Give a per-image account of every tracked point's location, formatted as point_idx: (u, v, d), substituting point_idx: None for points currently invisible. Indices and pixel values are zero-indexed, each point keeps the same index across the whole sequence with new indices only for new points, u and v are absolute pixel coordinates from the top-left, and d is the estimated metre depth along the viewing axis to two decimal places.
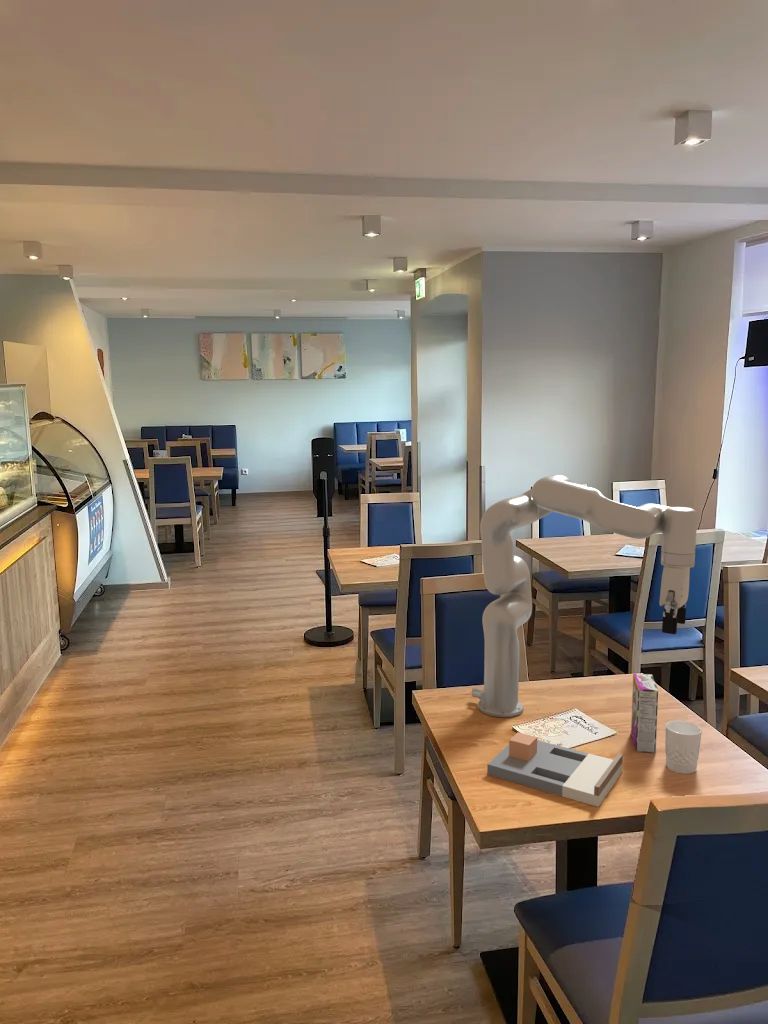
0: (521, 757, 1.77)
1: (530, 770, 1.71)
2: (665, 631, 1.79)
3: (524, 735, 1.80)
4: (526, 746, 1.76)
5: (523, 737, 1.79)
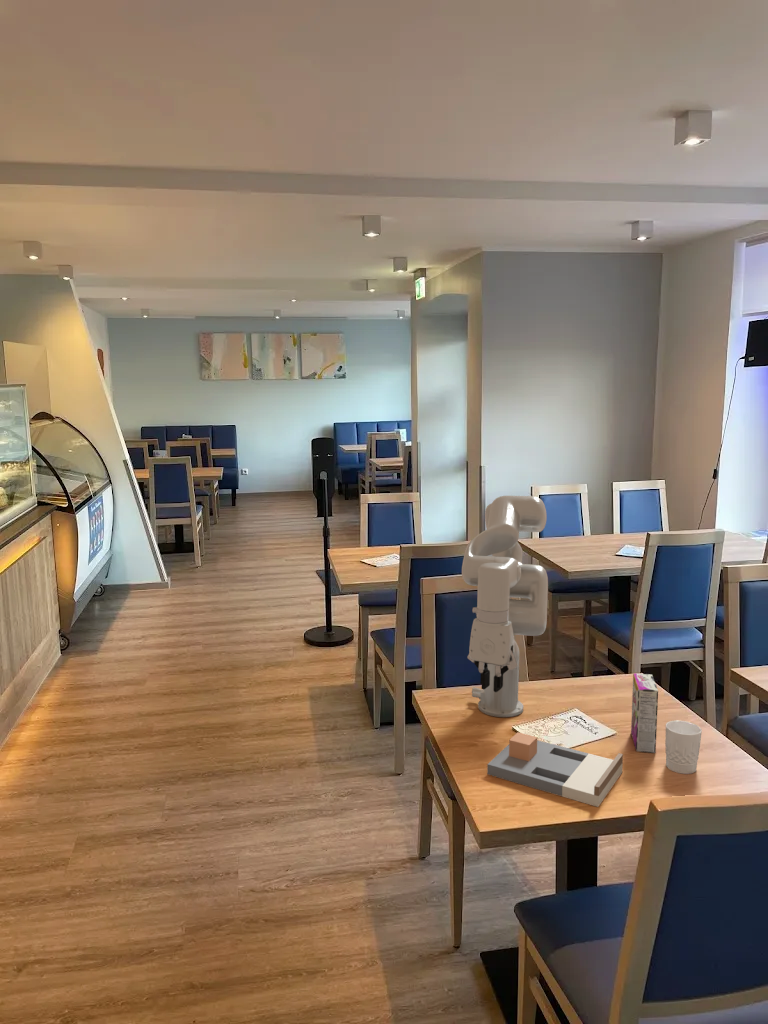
0: (521, 757, 1.77)
1: (530, 770, 1.71)
2: (497, 690, 1.80)
3: (524, 735, 1.80)
4: (526, 746, 1.76)
5: (523, 737, 1.79)
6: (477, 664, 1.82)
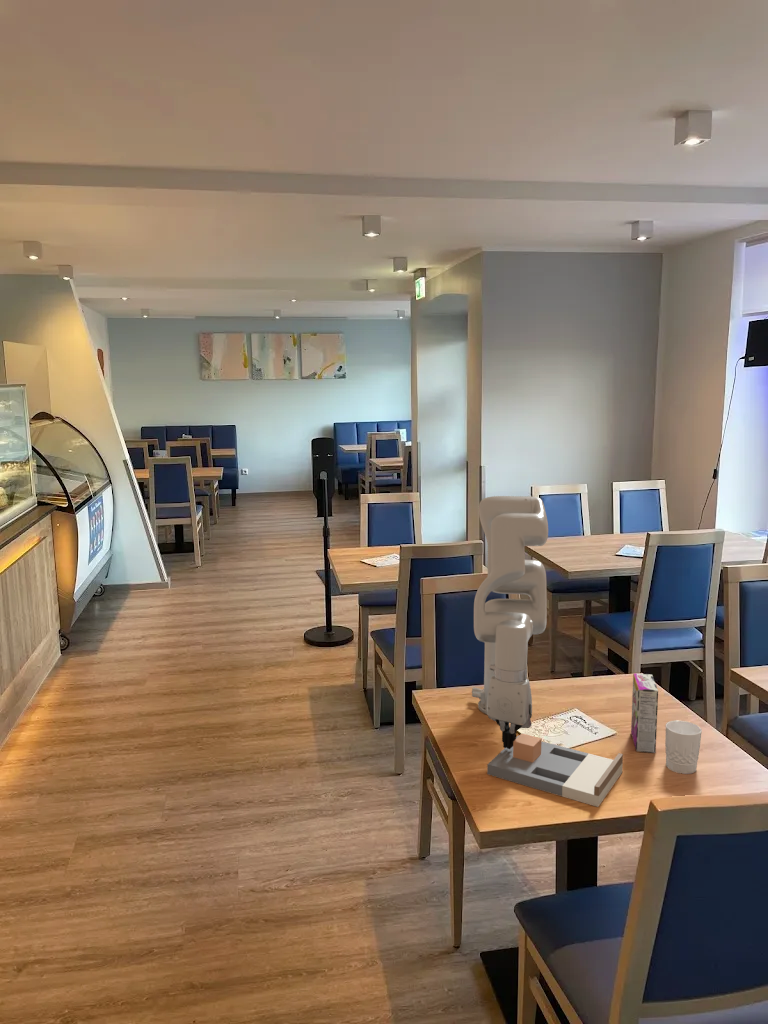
0: (525, 758, 1.76)
1: (530, 770, 1.71)
2: (510, 746, 1.80)
3: (528, 736, 1.79)
4: (530, 747, 1.75)
5: (527, 738, 1.78)
6: (499, 722, 1.81)
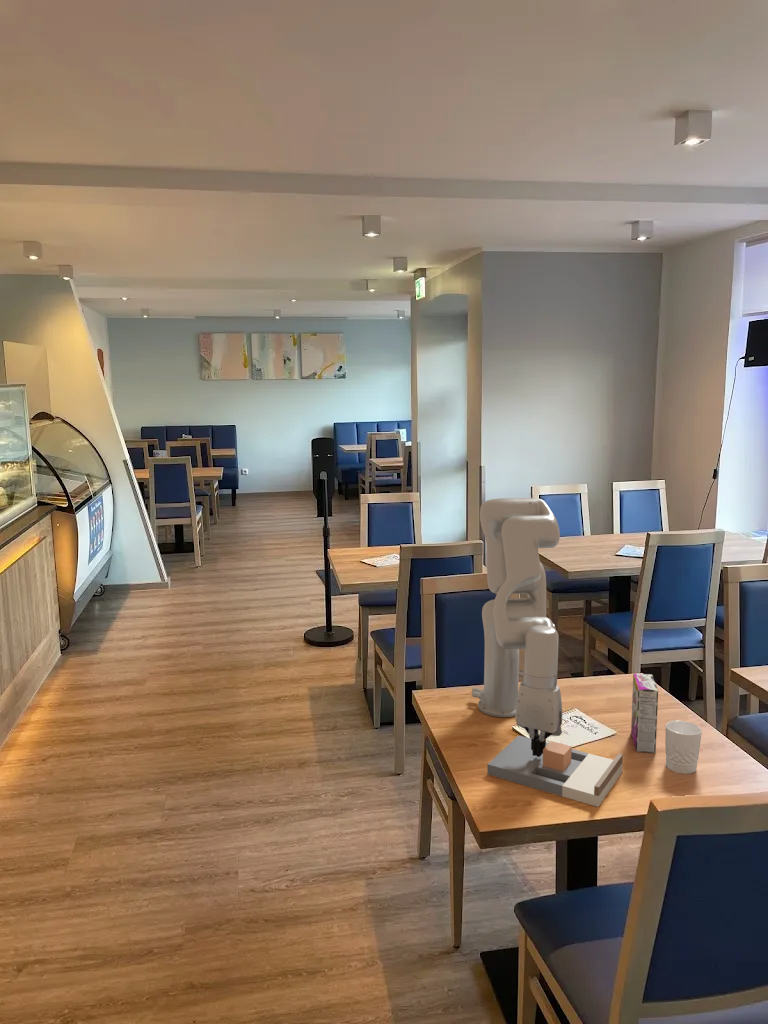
0: (555, 767, 1.72)
1: (530, 770, 1.71)
2: (540, 754, 1.76)
3: (558, 744, 1.75)
4: (560, 756, 1.71)
5: (557, 746, 1.74)
6: (528, 729, 1.77)
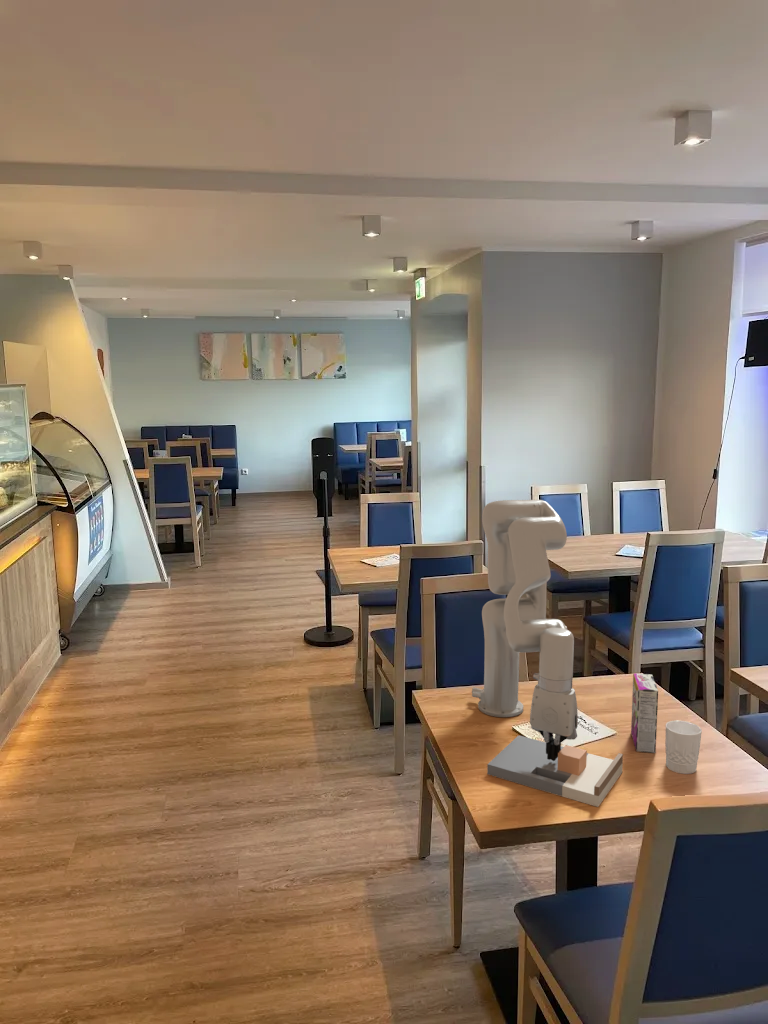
0: (570, 771, 1.70)
1: (530, 770, 1.71)
2: (555, 758, 1.74)
3: (573, 748, 1.73)
4: (576, 760, 1.69)
5: (572, 750, 1.72)
6: (542, 733, 1.75)
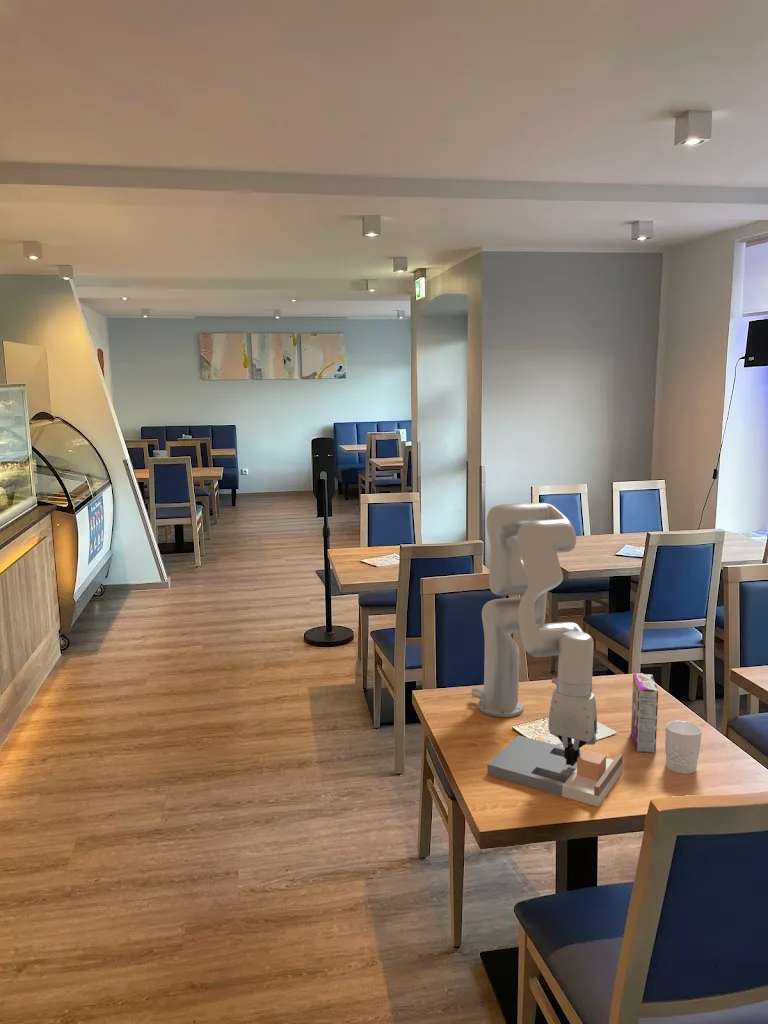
0: (590, 776, 1.68)
1: (530, 770, 1.71)
2: (573, 763, 1.71)
3: (592, 753, 1.71)
4: (596, 765, 1.66)
5: (591, 755, 1.70)
6: (561, 738, 1.72)
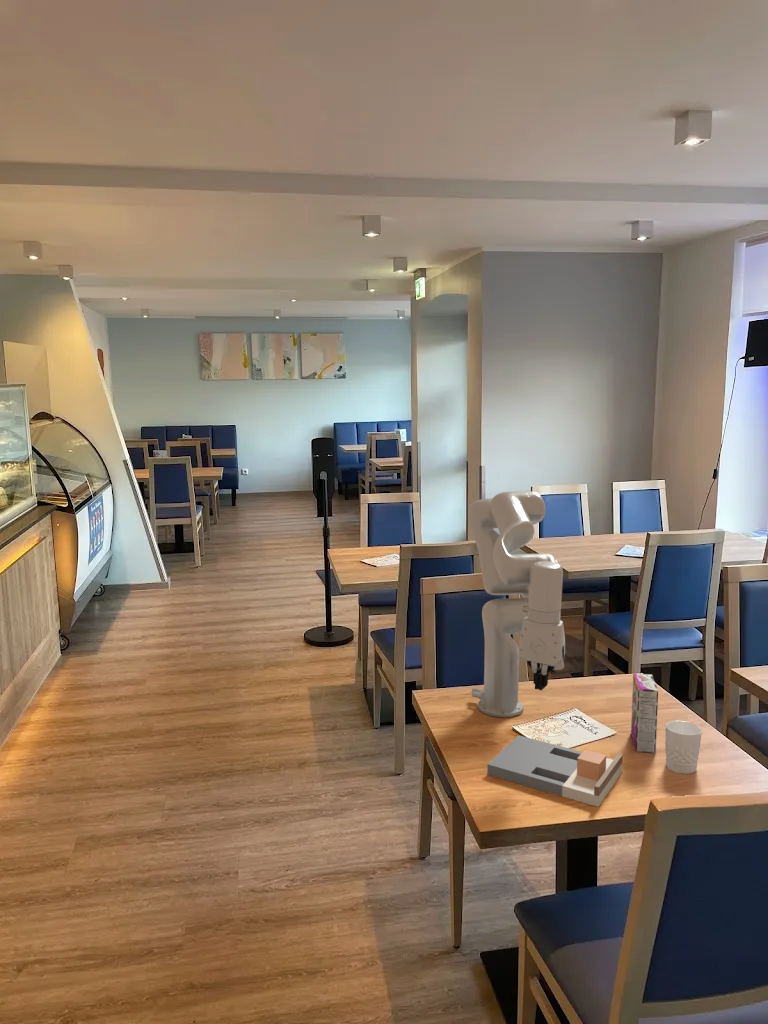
0: (590, 776, 1.68)
1: (530, 770, 1.71)
2: (542, 688, 1.78)
3: (592, 753, 1.71)
4: (596, 765, 1.66)
5: (591, 755, 1.70)
6: (530, 664, 1.79)
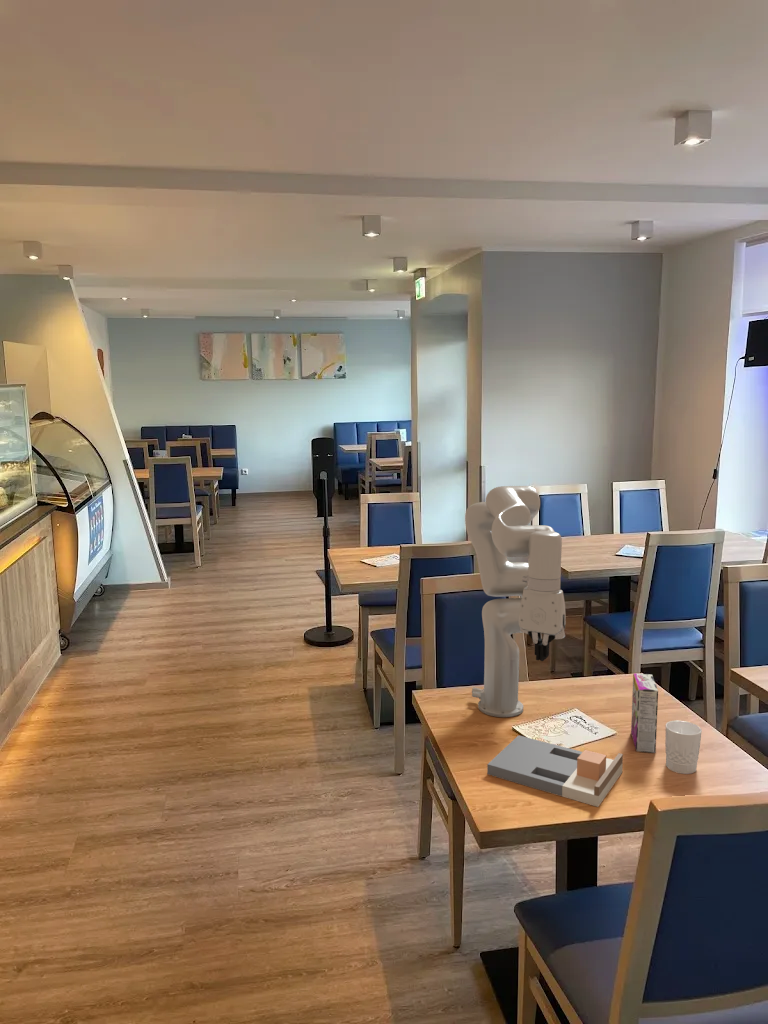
0: (590, 776, 1.68)
1: (530, 770, 1.71)
2: (543, 659, 1.78)
3: (592, 753, 1.71)
4: (596, 765, 1.66)
5: (591, 755, 1.70)
6: (531, 635, 1.78)
